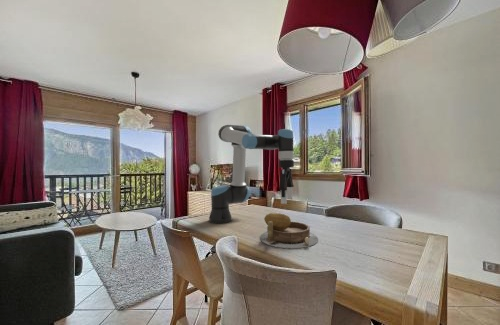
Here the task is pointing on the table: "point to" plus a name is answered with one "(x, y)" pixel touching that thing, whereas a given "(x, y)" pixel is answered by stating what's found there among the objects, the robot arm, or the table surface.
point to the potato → (278, 221)
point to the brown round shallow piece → (288, 233)
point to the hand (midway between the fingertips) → (286, 201)
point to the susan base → (292, 245)
